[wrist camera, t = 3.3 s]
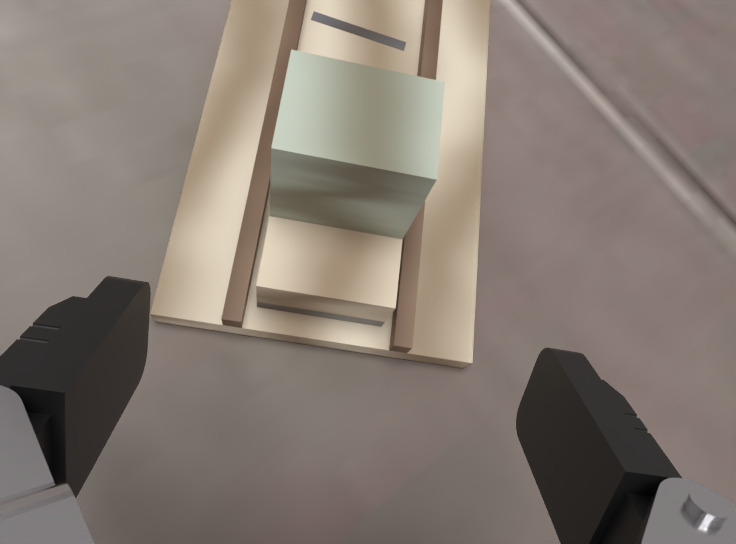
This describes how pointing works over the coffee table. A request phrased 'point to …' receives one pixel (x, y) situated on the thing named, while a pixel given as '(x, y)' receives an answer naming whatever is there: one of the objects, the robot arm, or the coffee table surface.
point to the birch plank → (253, 172)
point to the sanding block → (346, 186)
